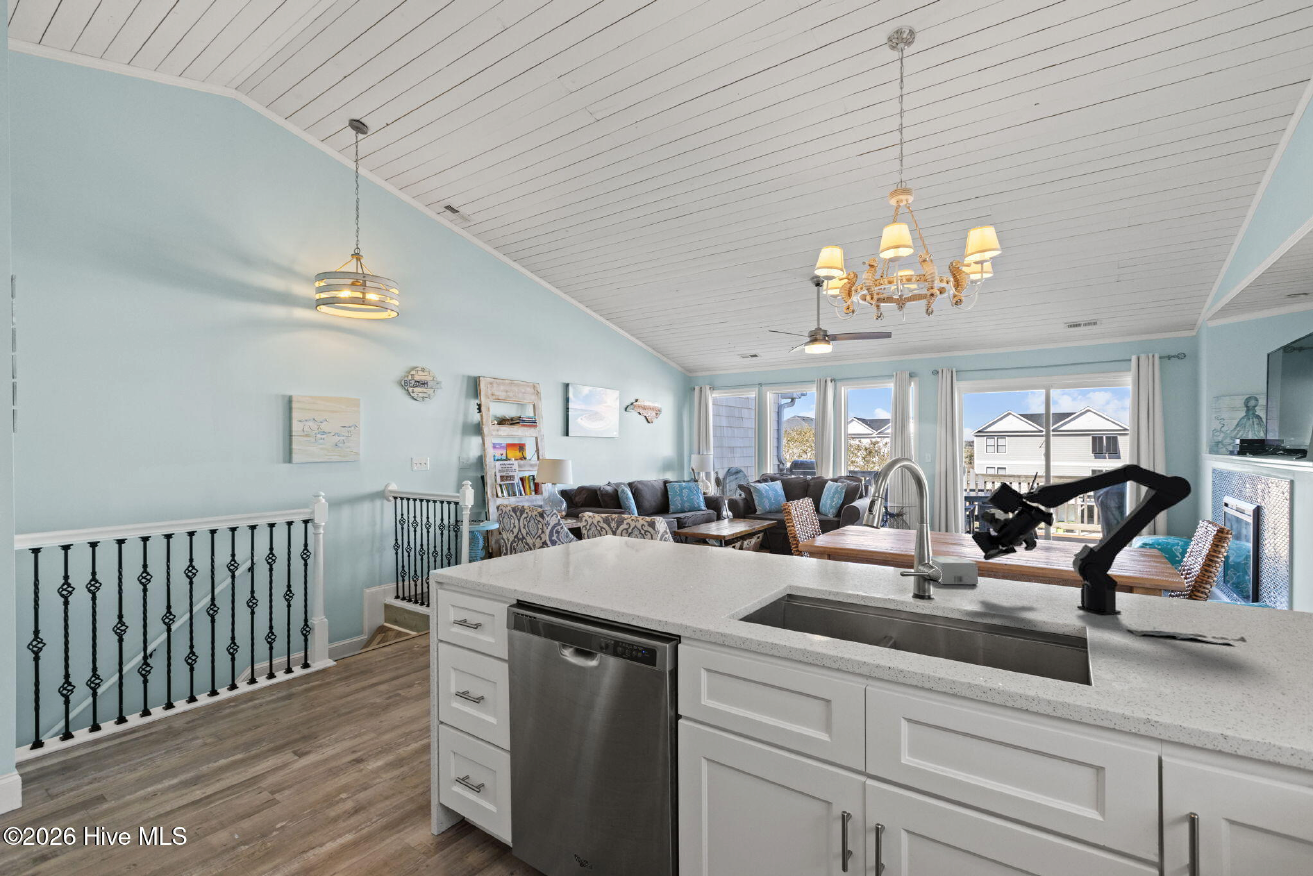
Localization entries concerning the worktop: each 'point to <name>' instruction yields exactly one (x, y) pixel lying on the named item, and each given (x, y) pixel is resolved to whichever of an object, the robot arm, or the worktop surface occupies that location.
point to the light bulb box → (956, 569)
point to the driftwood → (1184, 635)
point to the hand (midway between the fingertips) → (985, 559)
